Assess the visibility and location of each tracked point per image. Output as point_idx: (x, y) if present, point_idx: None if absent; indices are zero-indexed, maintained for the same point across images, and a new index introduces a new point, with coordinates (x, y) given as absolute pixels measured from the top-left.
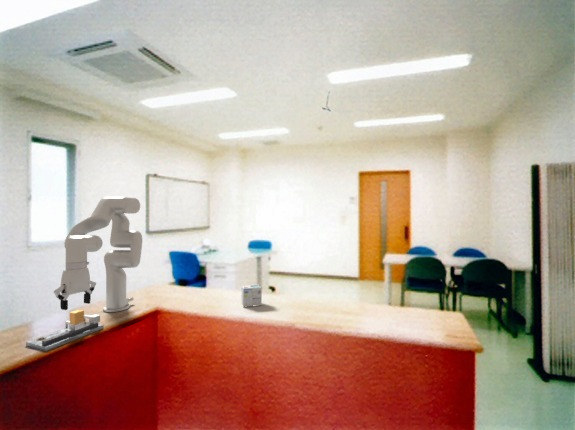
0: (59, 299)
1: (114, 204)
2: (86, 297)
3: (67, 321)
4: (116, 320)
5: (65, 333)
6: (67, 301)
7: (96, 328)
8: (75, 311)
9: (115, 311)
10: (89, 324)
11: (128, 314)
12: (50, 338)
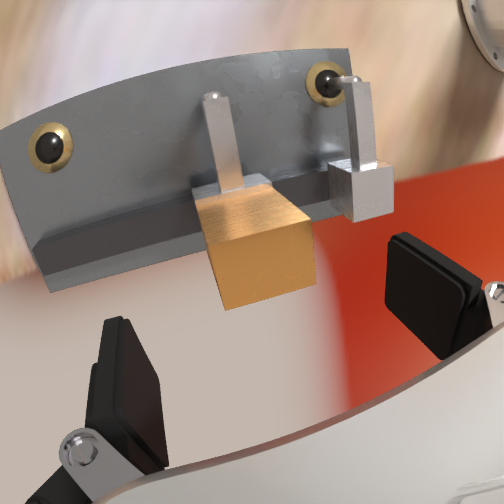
0: (69, 447)
1: None
2: (429, 313)
3: (212, 121)
4: (435, 152)
5: (150, 235)
6: (163, 460)
7: (321, 217)
8: (257, 259)
9: (481, 51)
10: (314, 192)
11: (484, 132)
12: (68, 251)
